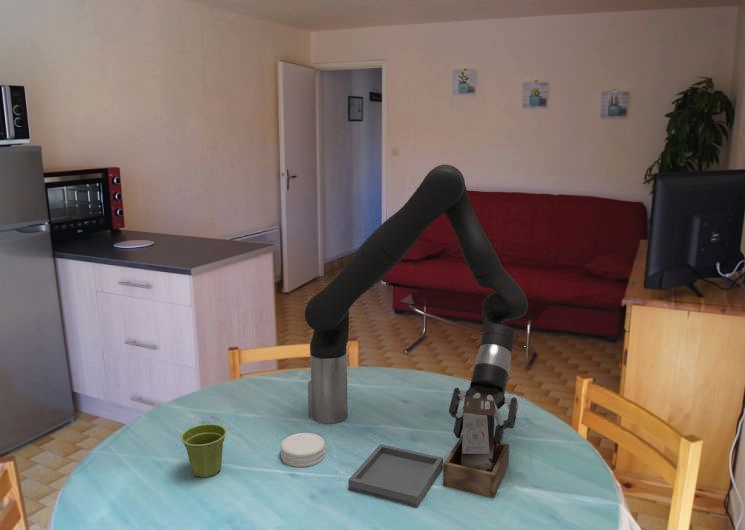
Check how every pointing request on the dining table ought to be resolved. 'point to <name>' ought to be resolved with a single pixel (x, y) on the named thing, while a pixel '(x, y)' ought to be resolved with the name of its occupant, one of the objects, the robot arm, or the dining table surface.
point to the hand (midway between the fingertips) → (476, 441)
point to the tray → (396, 475)
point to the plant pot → (204, 448)
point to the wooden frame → (475, 471)
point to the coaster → (303, 449)
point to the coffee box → (478, 433)
